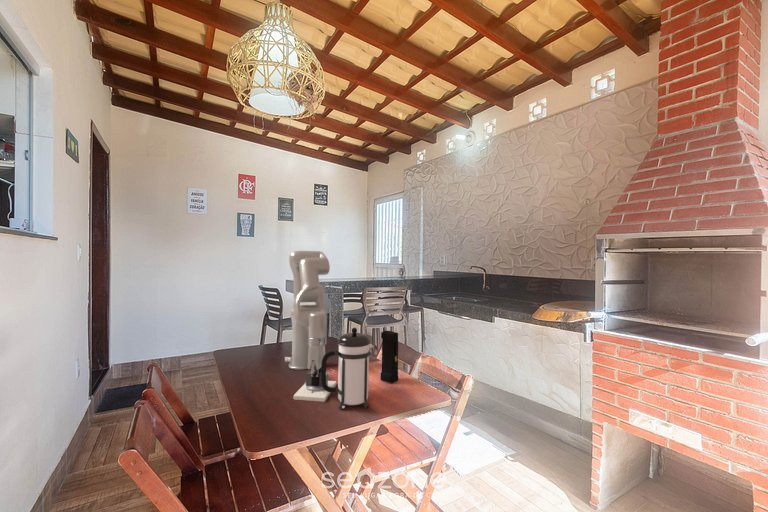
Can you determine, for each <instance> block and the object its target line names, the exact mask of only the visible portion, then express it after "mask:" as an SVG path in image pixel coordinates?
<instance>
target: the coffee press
mask: <svg viewBox="0 0 768 512" xmlns="http://www.w3.org/2000/svg"><path fill="white" fill-rule="evenodd" d="M337 344H338V349H337V350H331V351H327V352H325V355H324V357H323V359H322V368H321V383H322V387H323V389H324V390H326V391H327V392H331V393H337V398H338V401H339V402H340V405H339V406H338V408H339V410H342V411H343V410H344V409H345V407H346V406H347V405H348V406H357V405H362V406H363V408H364V409H367V408H369V407H370V405H369V402H368V400H369V399H368V398H369V380H370V379H369V378H370V377H369V376H370V375H369V374H370V373H369V372H370V355H371V354H370V353H371V351H370V348H374V345H373V344H372V342H371V339H370V338H369V336H368V335H367V334H365V333H362V332H358V328H357V327H352V328H351V330H350V332H346V333H344V334H342V335H340V337H339V339H338V340H337ZM333 356H338V370H337V372H338V373H337V374H338V376H337V377H338V379H337V384H338V385H337V386H335V387H329V386H327V384H326V372H327V361H328V359H329V358H330V357H333Z"/></svg>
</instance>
